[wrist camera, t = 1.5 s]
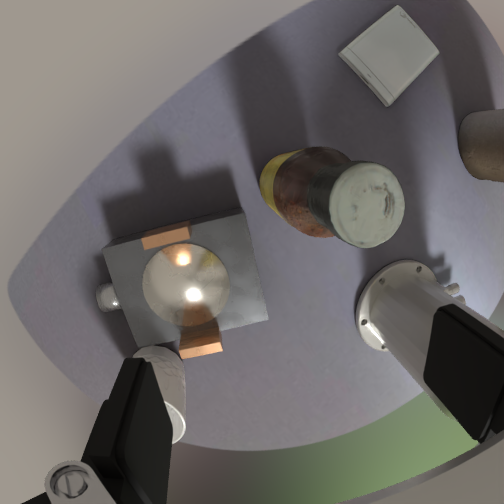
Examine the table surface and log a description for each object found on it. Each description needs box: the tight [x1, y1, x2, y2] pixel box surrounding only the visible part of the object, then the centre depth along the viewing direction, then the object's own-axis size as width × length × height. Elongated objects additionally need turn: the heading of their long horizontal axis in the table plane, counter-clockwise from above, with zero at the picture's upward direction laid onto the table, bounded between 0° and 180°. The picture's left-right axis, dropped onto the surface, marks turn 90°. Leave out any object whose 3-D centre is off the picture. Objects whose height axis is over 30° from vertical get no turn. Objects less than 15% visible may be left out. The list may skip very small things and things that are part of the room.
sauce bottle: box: [259, 147, 405, 248], centre depth 23 cm, size 6×6×20 cm
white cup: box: [132, 345, 186, 444], centre depth 32 cm, size 8×8×10 cm
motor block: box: [96, 207, 268, 359], centre depth 31 cm, size 17×12×7 cm
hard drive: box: [338, 5, 439, 107], centre depth 30 cm, size 2×8×12 cm
